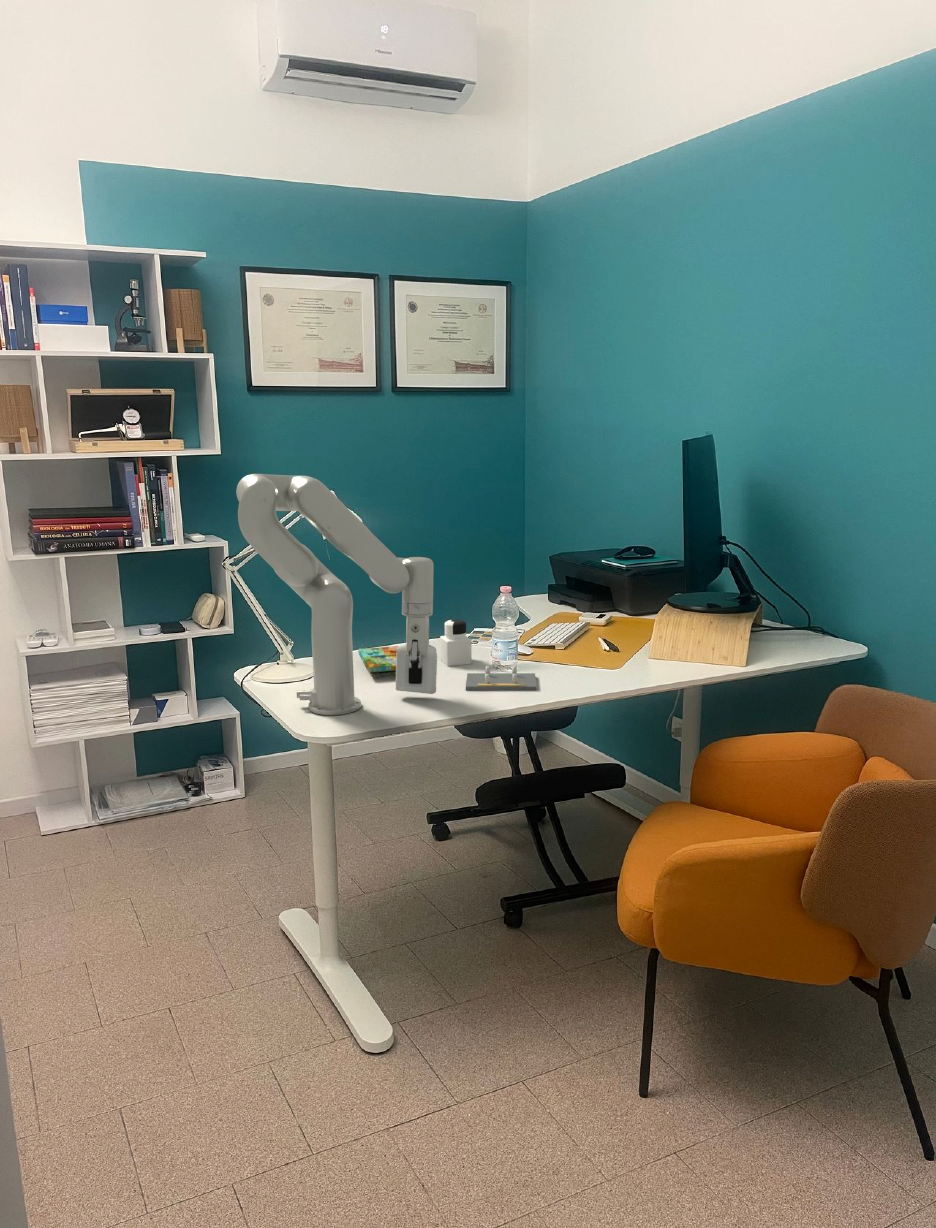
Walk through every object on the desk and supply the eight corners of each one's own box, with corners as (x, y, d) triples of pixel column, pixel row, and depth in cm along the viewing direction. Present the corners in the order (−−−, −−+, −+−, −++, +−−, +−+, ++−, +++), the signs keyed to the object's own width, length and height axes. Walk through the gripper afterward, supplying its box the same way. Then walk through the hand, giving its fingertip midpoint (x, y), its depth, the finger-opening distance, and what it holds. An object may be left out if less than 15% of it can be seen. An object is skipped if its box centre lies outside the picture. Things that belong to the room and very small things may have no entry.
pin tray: (465, 690, 239) (465, 677, 238) (467, 676, 251) (467, 664, 250) (536, 690, 238) (536, 677, 238) (534, 676, 250) (535, 664, 249)
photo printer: (438, 690, 234) (439, 642, 231) (434, 695, 230) (435, 646, 227) (398, 687, 236) (398, 639, 233) (393, 691, 232) (394, 643, 229)
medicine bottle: (463, 657, 270) (463, 617, 267) (471, 664, 263) (471, 622, 260) (440, 660, 267) (439, 619, 265) (447, 666, 261) (446, 624, 258)
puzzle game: (398, 643, 269) (413, 661, 250) (399, 658, 270) (413, 677, 251) (358, 646, 266) (369, 664, 248) (358, 662, 267) (370, 681, 249)
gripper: (430, 616, 220) (428, 690, 224) (435, 602, 237) (433, 671, 241) (398, 615, 220) (397, 689, 224) (405, 601, 237) (404, 670, 241)
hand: (416, 679), depth 232 cm, fingers closed on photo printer, 4 cm apart
